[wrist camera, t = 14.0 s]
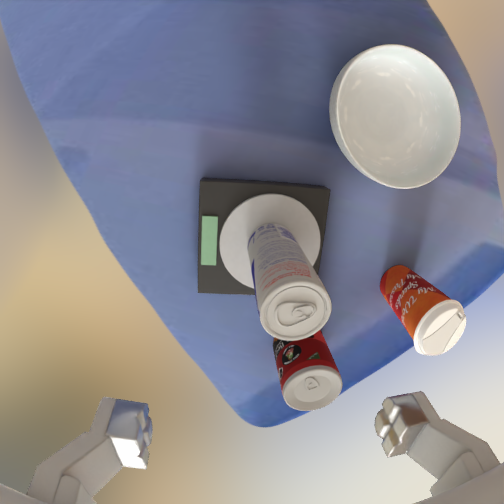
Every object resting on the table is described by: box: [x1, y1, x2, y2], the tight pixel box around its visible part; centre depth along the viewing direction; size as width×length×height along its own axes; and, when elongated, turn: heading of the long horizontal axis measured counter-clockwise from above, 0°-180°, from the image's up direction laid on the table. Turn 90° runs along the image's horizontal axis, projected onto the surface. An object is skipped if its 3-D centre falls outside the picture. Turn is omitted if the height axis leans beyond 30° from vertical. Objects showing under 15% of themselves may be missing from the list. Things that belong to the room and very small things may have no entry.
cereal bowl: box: [329, 44, 461, 189], centre depth 32 cm, size 17×17×7 cm
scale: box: [198, 178, 330, 295], centre depth 39 cm, size 14×15×3 cm
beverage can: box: [247, 223, 331, 341], centre depth 30 cm, size 6×6×15 cm
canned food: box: [273, 330, 342, 411], centre depth 41 cm, size 8×8×11 cm
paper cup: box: [380, 265, 466, 356], centre depth 38 cm, size 8×8×14 cm
